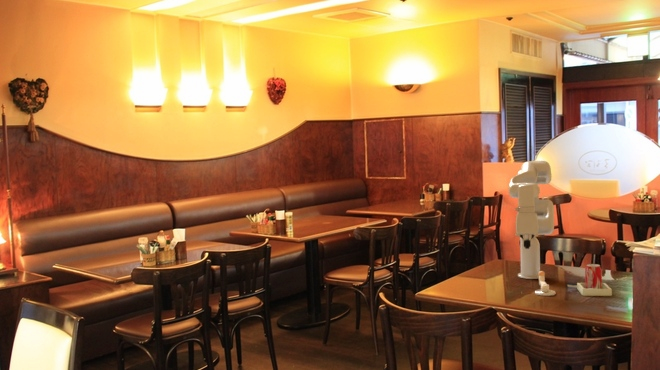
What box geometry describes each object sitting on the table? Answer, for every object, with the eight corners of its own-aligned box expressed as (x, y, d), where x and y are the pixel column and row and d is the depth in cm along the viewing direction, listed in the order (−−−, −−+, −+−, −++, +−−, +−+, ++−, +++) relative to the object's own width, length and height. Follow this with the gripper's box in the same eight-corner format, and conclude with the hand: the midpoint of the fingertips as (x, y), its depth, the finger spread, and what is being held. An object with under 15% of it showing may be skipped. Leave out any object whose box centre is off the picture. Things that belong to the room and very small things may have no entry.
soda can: (603, 292, 289) (603, 266, 289) (586, 292, 291) (586, 266, 290) (600, 289, 296) (600, 263, 295) (584, 288, 298) (583, 263, 297)
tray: (577, 289, 300) (577, 282, 300) (604, 289, 298) (604, 282, 298) (582, 295, 288) (582, 289, 288) (611, 295, 286) (611, 289, 286)
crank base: (533, 291, 299) (533, 288, 299) (553, 291, 298) (553, 288, 298) (536, 296, 291) (536, 293, 290) (557, 296, 289) (556, 293, 289)
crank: (541, 291, 293) (541, 276, 292) (537, 285, 306) (537, 270, 305) (549, 291, 292) (549, 276, 291) (545, 285, 305) (545, 270, 305)
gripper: (511, 211, 300) (511, 249, 301) (544, 210, 297) (544, 249, 298) (509, 209, 307) (510, 247, 309) (541, 209, 305) (542, 247, 306)
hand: (527, 248), depth 303 cm, fingers closed
